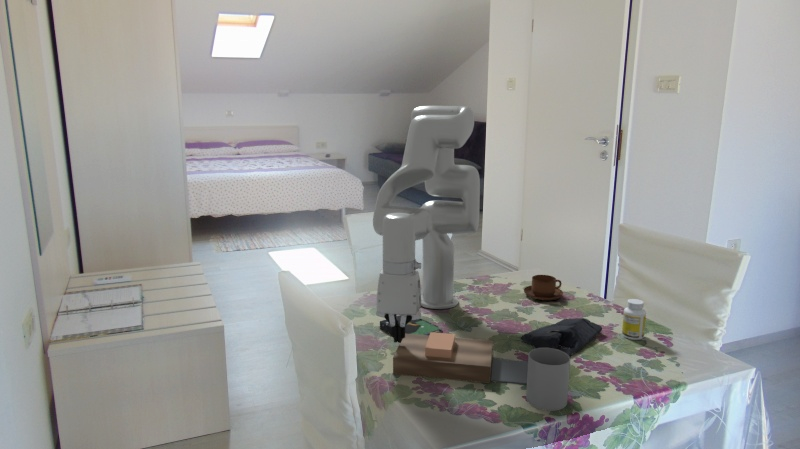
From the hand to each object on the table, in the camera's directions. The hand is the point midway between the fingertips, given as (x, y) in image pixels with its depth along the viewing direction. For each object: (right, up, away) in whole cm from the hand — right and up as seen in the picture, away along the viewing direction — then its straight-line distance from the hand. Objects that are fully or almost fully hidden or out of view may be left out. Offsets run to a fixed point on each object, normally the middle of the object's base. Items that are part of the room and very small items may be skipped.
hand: (398, 340), depth 139 cm
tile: (+10, -2, -1) cm, 10 cm away
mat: (+28, -7, -4) cm, 29 cm away
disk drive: (+3, -2, +18) cm, 18 cm away
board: (+11, -6, -1) cm, 12 cm away
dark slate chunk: (+43, -3, +14) cm, 46 cm away
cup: (+31, -10, -16) cm, 36 cm away
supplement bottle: (+62, -2, +16) cm, 64 cm away
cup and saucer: (+46, +5, +45) cm, 64 cm away
